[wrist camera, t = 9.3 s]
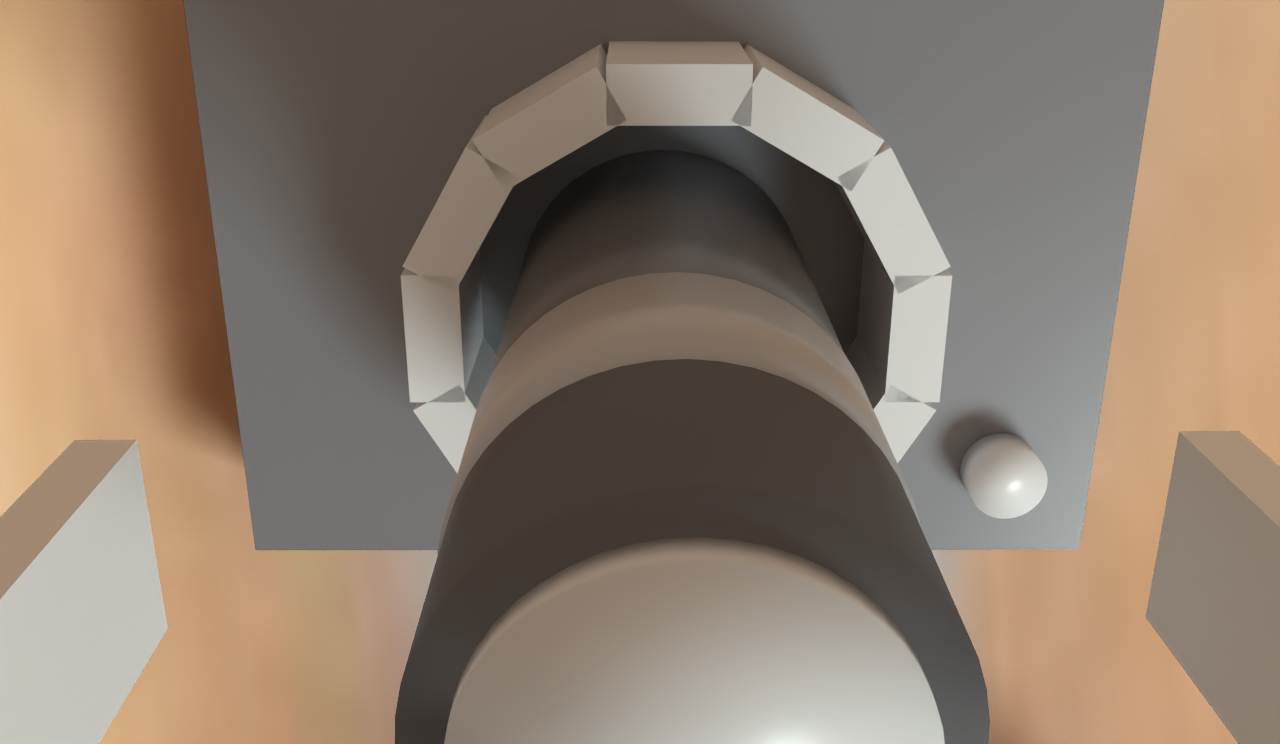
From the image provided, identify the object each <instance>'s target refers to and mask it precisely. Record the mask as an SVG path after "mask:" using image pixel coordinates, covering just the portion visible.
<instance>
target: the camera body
mask: <svg viewBox="0 0 1280 744" xmlns="http://www.w3.org/2000/svg"><path fill="white" fill-rule="evenodd" d="M183 3H184V11H185V18H186V26H187V33H188V41H189V49H190V56H191V64H192V71H193V79H194V87H195V94H196V102H197V109H198V117H199V125H200V132H201V140H202V147H203V155H204V163H205V170H206V178H207V185H208V193H209V201H210V208H211V216H212V223H213V231H214V239H215V246H216V254H217V261H218V269H219V277H220V284H221V292H222V299H223V307H224V314H225V322H226V330H227V337H228V345H229V352H230V360H231V368H232V375H233V383H234V390H235V398H236V406H237V413H238V421H239V428H240V436H241V444H242V451H243V459H244V466H245V474H246V482H247V489H248V497H249V504H250V512H251V520H252V527H253V535H254V542H255V550H438V548H439V542H440V536H441V530H442V524H443V521H444V517H445V514H446V511H447V507H448V504H449V501H450V497H451V494H452V490H453V487H454V484H455V480H456V477H457V474H458V470H459V467H460V463H461V460H462V457H463V453H464V450H465V447H466V443H467V440H468V437H469V433H470V430H471V426H472V423H473V420H474V416H475V413H476V410H477V407H478V404H479V401H480V398H481V395H482V393H483V391H484V389H485V387H486V385H487V383H488V381H489V378H490V374H491V371H492V367H493V364H494V360H495V357H496V353H497V350H498V347H499V343H500V340H501V336H502V333H503V329H504V326H505V322H506V319H507V316H508V312H509V309H510V305H511V302H512V298H513V295H514V291H515V288H516V284H517V281H518V278H519V274H520V271H521V267H522V264H523V260H524V257H525V253H526V250H527V247H528V244H529V241H530V238H531V235H532V233H533V231H534V229H535V227H536V225H537V223H538V221H539V219H540V218H541V216H542V215H543V213H544V212H545V210H546V209H547V207H548V206H549V204H550V203H551V202H552V201H553V200H554V199H555V198H556V196H557V195H558V194H559V193H560V192H561V191H562V190H563V189H564V188H565V187H567V186H568V185H569V184H570V183H571V182H572V181H574V180H575V179H576V178H577V177H579V176H581V175H582V174H584V173H585V172H587V171H588V170H590V169H591V168H593V167H595V166H598V165H600V164H602V163H604V162H606V161H608V160H611V159H614V158H617V157H620V156H623V155H626V154H631V153H637V152H642V151H653V150H672V151H684V152H689V153H694V154H698V155H703V156H706V157H708V158H711V159H714V160H717V161H720V162H722V163H724V164H726V165H728V166H730V167H732V168H733V169H735V170H737V171H739V172H740V173H742V174H743V175H744V176H746V177H747V178H749V179H750V180H752V181H753V182H754V183H755V184H756V185H757V186H758V187H759V188H760V189H762V190H763V191H764V192H765V193H766V194H767V196H768V197H769V198H770V199H771V200H772V202H773V203H774V204H775V205H776V206H777V208H778V209H779V211H780V213H781V214H782V216H783V217H784V219H785V221H786V222H787V224H788V227H789V229H790V231H791V233H792V236H793V238H794V240H795V242H796V245H797V247H798V249H799V252H800V254H801V256H802V258H803V261H804V263H805V265H806V267H807V270H808V272H809V274H810V277H811V279H812V281H813V283H814V286H815V288H816V290H817V292H818V295H819V297H820V299H821V302H822V304H823V306H824V308H825V311H826V313H827V315H828V317H829V320H830V322H831V324H832V327H833V329H834V331H835V333H836V336H837V338H838V340H839V342H840V345H841V347H842V349H843V352H844V354H845V355H846V357H847V359H848V360H849V362H850V363H851V365H852V366H853V368H854V370H855V371H856V373H857V374H858V377H859V379H860V381H861V383H862V386H863V388H864V390H865V392H866V394H867V397H868V399H869V401H870V403H871V406H872V408H873V410H874V412H875V415H876V417H877V419H878V421H879V423H880V426H881V428H882V430H883V432H884V435H885V437H886V439H887V441H888V444H889V446H890V448H891V450H892V452H893V455H894V457H895V459H896V461H897V464H898V466H899V468H900V470H901V473H902V475H903V477H904V479H905V482H906V484H907V486H908V488H909V491H910V493H911V495H912V497H913V500H914V502H915V506H916V510H917V513H918V517H919V521H920V524H921V528H922V531H923V533H924V536H925V538H926V540H927V542H928V545H929V547H930V549H931V550H1046V549H1079V547H1080V541H1081V534H1082V528H1083V522H1084V515H1085V509H1086V502H1087V496H1088V489H1089V483H1090V476H1091V470H1092V463H1093V457H1094V451H1095V444H1096V438H1097V431H1098V425H1099V418H1100V412H1101V405H1102V399H1103V392H1104V386H1105V379H1106V373H1107V367H1108V360H1109V354H1110V347H1111V341H1112V334H1113V328H1114V321H1115V315H1116V308H1117V302H1118V296H1119V289H1120V283H1121V276H1122V270H1123V263H1124V257H1125V250H1126V244H1127V237H1128V231H1129V224H1130V218H1131V212H1132V205H1133V199H1134V192H1135V186H1136V179H1137V173H1138V166H1139V160H1140V153H1141V147H1142V140H1143V134H1144V128H1145V121H1146V115H1147V108H1148V102H1149V95H1150V89H1151V82H1152V76H1153V69H1154V63H1155V57H1156V50H1157V44H1158V37H1159V31H1160V24H1161V18H1162V11H1163V5H1164V0H183Z"/></svg>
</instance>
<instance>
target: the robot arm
mask: <svg viewBox="0 0 1280 744" xmlns="http://www.w3.org/2000/svg"><path fill="white" fill-rule="evenodd" d="M1146 618H1147V620H1148V621H1149V622H1150V624H1151V625H1152V626H1153V628H1154V629H1155V631H1156V632H1157V633H1158V635H1159V636H1160V637H1161V639H1162V640H1163V641H1164V643H1165V644H1166V646H1167V647H1168V648H1169V650H1170V651H1171V652H1172V654H1173V655H1174V656H1175V658H1176V659H1177V661H1178V662H1179V663H1180V665H1181V666H1182V667H1183V669H1184V670H1185V671H1186V673H1187V674H1188V676H1189V677H1190V678H1191V680H1192V681H1193V682H1194V684H1195V685H1196V686H1197V688H1198V689H1199V691H1200V692H1201V693H1202V695H1203V696H1204V697H1205V699H1206V700H1207V701H1208V703H1209V704H1210V706H1211V707H1212V708H1213V710H1214V711H1215V712H1216V714H1217V715H1218V716H1219V718H1220V719H1221V721H1222V722H1223V723H1224V725H1225V726H1226V727H1227V729H1228V730H1229V731H1230V733H1231V734H1232V736H1233V737H1234V738H1235V740H1236V741H1237V742H1238V744H1280V466H1279V465H1277V464H1276V463H1275V462H1274V461H1273V460H1272V459H1271V458H1269V457H1268V456H1267V455H1266V454H1265V453H1264V452H1262V451H1261V450H1260V449H1259V448H1258V447H1257V446H1256V445H1254V444H1253V443H1252V442H1251V441H1250V440H1249V439H1247V438H1246V437H1245V436H1244V435H1243V434H1242V433H1241V432H1239V431H1179V435H1178V440H1177V446H1176V451H1175V457H1174V463H1173V468H1172V474H1171V479H1170V485H1169V491H1168V496H1167V502H1166V507H1165V513H1164V518H1163V524H1162V530H1161V535H1160V541H1159V546H1158V552H1157V557H1156V563H1155V569H1154V574H1153V580H1152V585H1151V591H1150V596H1149V602H1148V608H1147V613H1146ZM167 629H168V628H167V622H166V616H165V610H164V604H163V598H162V591H161V585H160V579H159V573H158V567H157V561H156V555H155V549H154V543H153V537H152V530H151V524H150V518H149V512H148V506H147V500H146V494H145V488H144V482H143V476H142V469H141V463H140V457H139V451H138V445H137V440H74V441H73V442H72V443H71V444H70V446H69V447H68V448H67V449H66V450H65V451H64V452H63V453H62V454H61V455H60V456H59V457H58V458H57V459H56V460H55V461H54V462H53V463H52V464H51V465H50V466H49V467H48V468H47V469H46V470H45V471H44V472H43V473H42V474H41V476H40V477H39V478H38V479H37V480H36V481H35V482H34V483H33V484H32V485H31V486H30V487H29V488H28V489H27V490H26V491H25V492H24V493H23V494H22V495H21V496H20V497H19V498H18V499H17V500H16V501H15V502H14V503H13V505H12V506H11V507H10V508H9V509H8V510H7V511H6V512H5V513H4V514H3V515H2V516H1V517H0V744H99V743H100V741H101V739H102V738H103V736H104V734H105V733H106V731H107V729H108V728H109V726H110V724H111V723H112V721H113V719H114V718H115V716H116V714H117V713H118V711H119V709H120V707H121V706H122V704H123V702H124V701H125V699H126V697H127V696H128V694H129V692H130V691H131V689H132V687H133V686H134V684H135V682H136V681H137V679H138V677H139V676H140V674H141V672H142V671H143V669H144V667H145V666H146V664H147V662H148V660H149V659H150V657H151V655H152V654H153V652H154V650H155V649H156V647H157V645H158V644H159V642H160V640H161V639H162V637H163V635H164V634H165V632H166V630H167Z"/></svg>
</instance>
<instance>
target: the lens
mask: <svg viewBox="0 0 1280 744" xmlns="http://www.w3.org/2000/svg"><path fill="white" fill-rule="evenodd" d="M989 723H990V720H989V709H988V699H987V689H986V685H985V681H984V678H983V674H982V670H981V666H980V663H979V659H978V656H977V654H976V651H975V649H974V647H973V645H972V642H971V640H970V638H969V636H968V633H967V631H966V629H965V626H964V624H963V622H962V620H961V617H960V615H959V613H958V611H957V608H956V606H955V604H954V601H953V599H952V597H951V595H950V592H949V590H948V588H947V586H946V583H945V581H944V579H943V576H942V574H941V572H940V570H939V567H938V565H937V563H936V561H935V558H934V556H933V554H932V551H931V549H930V547H929V545H928V542H927V540H926V538H925V536H924V533H923V531H922V528H921V524H920V521H919V517H918V513H917V510H916V506H915V502H914V500H913V497H912V495H911V493H910V491H909V488H908V486H907V484H906V482H905V479H904V477H903V475H902V473H901V470H900V468H899V466H898V464H897V461H896V459H895V457H894V455H893V452H892V450H891V448H890V446H889V444H888V441H887V439H886V437H885V435H884V432H883V430H882V428H881V426H880V423H879V421H878V419H877V417H876V415H875V412H874V410H873V408H872V406H871V403H870V401H869V399H868V397H867V394H866V392H865V390H864V388H863V386H862V383H861V381H860V379H859V377H858V374H857V373H856V371H855V370H854V368H853V366H852V365H851V363H850V362H849V360H848V359H847V357H846V355H845V354H844V352H843V349H842V347H841V345H840V342H839V340H838V338H837V336H836V333H835V331H834V329H833V327H832V324H831V322H830V320H829V317H828V315H827V313H826V311H825V308H824V306H823V304H822V302H821V299H820V297H819V295H818V292H817V290H816V288H815V286H814V283H813V281H812V279H811V277H810V274H809V272H808V270H807V267H806V265H805V263H804V261H803V258H802V256H801V254H800V252H799V249H798V247H797V245H796V242H795V240H794V238H793V236H792V233H791V231H790V229H789V227H788V224H787V222H786V221H785V219H784V217H783V216H782V214H781V213H780V211H779V209H778V208H777V206H776V205H775V204H774V203H773V202H772V200H771V199H770V198H769V197H768V196H767V194H766V193H765V192H764V191H763V190H762V189H760V188H759V187H758V186H757V185H756V184H755V183H754V182H753V181H752V180H750V179H749V178H747V177H746V176H744V175H743V174H742V173H740V172H739V171H737V170H735V169H733V168H732V167H730V166H728V165H726V164H724V163H722V162H720V161H717V160H714V159H711V158H708V157H706V156H703V155H698V154H694V153H689V152H684V151H672V150H653V151H642V152H637V153H631V154H626V155H623V156H620V157H617V158H614V159H611V160H608V161H606V162H604V163H602V164H600V165H598V166H595V167H593V168H591V169H590V170H588V171H587V172H585V173H584V174H582V175H581V176H579V177H577V178H576V179H575V180H574V181H572V182H571V183H570V184H569V185H568V186H567V187H565V188H564V189H563V190H562V191H561V192H560V193H559V194H558V195H557V196H556V198H555V199H554V200H553V201H552V202H551V203H550V204H549V206H548V207H547V209H546V210H545V212H544V213H543V215H542V216H541V218H540V219H539V221H538V223H537V225H536V227H535V229H534V231H533V233H532V235H531V238H530V241H529V244H528V247H527V250H526V253H525V257H524V260H523V264H522V267H521V271H520V274H519V278H518V281H517V284H516V288H515V291H514V295H513V298H512V302H511V305H510V309H509V312H508V316H507V319H506V322H505V326H504V329H503V333H502V336H501V340H500V343H499V347H498V350H497V353H496V357H495V360H494V364H493V367H492V371H491V374H490V378H489V381H488V383H487V385H486V387H485V389H484V391H483V393H482V395H481V398H480V401H479V404H478V407H477V410H476V413H475V416H474V420H473V423H472V426H471V430H470V433H469V437H468V440H467V443H466V447H465V450H464V453H463V457H462V460H461V463H460V467H459V470H458V474H457V477H456V480H455V484H454V487H453V490H452V494H451V497H450V501H449V504H448V507H447V511H446V514H445V517H444V521H443V524H442V530H441V536H440V542H439V548H438V557H437V561H436V564H435V568H434V571H433V574H432V578H431V581H430V585H429V588H428V592H427V595H426V599H425V602H424V605H423V609H422V612H421V616H420V619H419V623H418V626H417V630H416V633H415V637H414V640H413V643H412V647H411V650H410V654H409V657H408V661H407V664H406V668H405V671H404V675H403V678H402V681H401V685H400V691H399V697H398V703H397V709H396V715H395V744H988V738H989Z"/></svg>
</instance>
